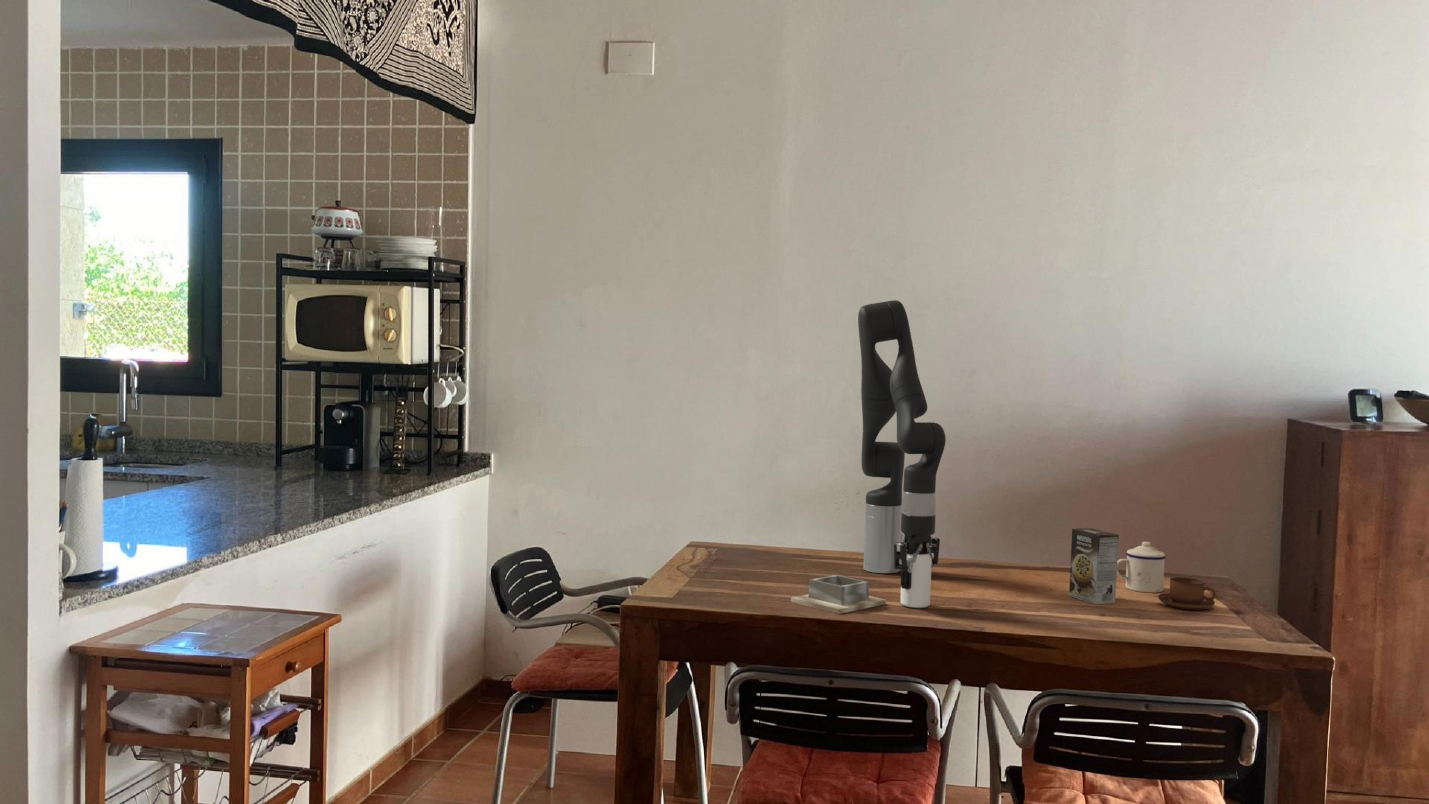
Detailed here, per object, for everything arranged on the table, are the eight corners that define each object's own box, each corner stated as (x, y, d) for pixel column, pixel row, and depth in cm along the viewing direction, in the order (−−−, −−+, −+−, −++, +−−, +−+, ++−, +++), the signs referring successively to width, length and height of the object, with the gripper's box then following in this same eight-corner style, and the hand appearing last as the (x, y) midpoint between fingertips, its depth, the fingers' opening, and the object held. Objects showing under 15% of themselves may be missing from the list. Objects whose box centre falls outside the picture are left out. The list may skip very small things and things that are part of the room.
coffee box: (1067, 596, 264) (1070, 528, 263) (1088, 594, 266) (1092, 527, 265) (1094, 604, 255) (1098, 534, 254) (1116, 603, 258) (1120, 533, 257)
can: (929, 609, 245) (931, 555, 244) (899, 607, 246) (901, 553, 246) (929, 603, 251) (932, 550, 251) (900, 600, 252) (902, 548, 252)
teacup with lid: (1155, 586, 279) (1158, 539, 278) (1169, 593, 270) (1172, 546, 269) (1107, 584, 279) (1109, 538, 278) (1120, 592, 270) (1122, 544, 269)
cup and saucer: (1208, 603, 261) (1209, 577, 261) (1219, 615, 249) (1221, 587, 249) (1154, 599, 264) (1155, 573, 263) (1162, 610, 252) (1163, 583, 252)
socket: (837, 592, 260) (838, 571, 259) (885, 604, 249) (886, 581, 249) (790, 602, 249) (791, 579, 248) (839, 614, 238) (839, 590, 238)
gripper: (924, 507, 255) (921, 579, 256) (884, 512, 245) (882, 587, 246) (951, 511, 250) (948, 585, 251) (912, 517, 240) (909, 593, 241)
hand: (915, 586), depth 248 cm, fingers closed on can, 6 cm apart
